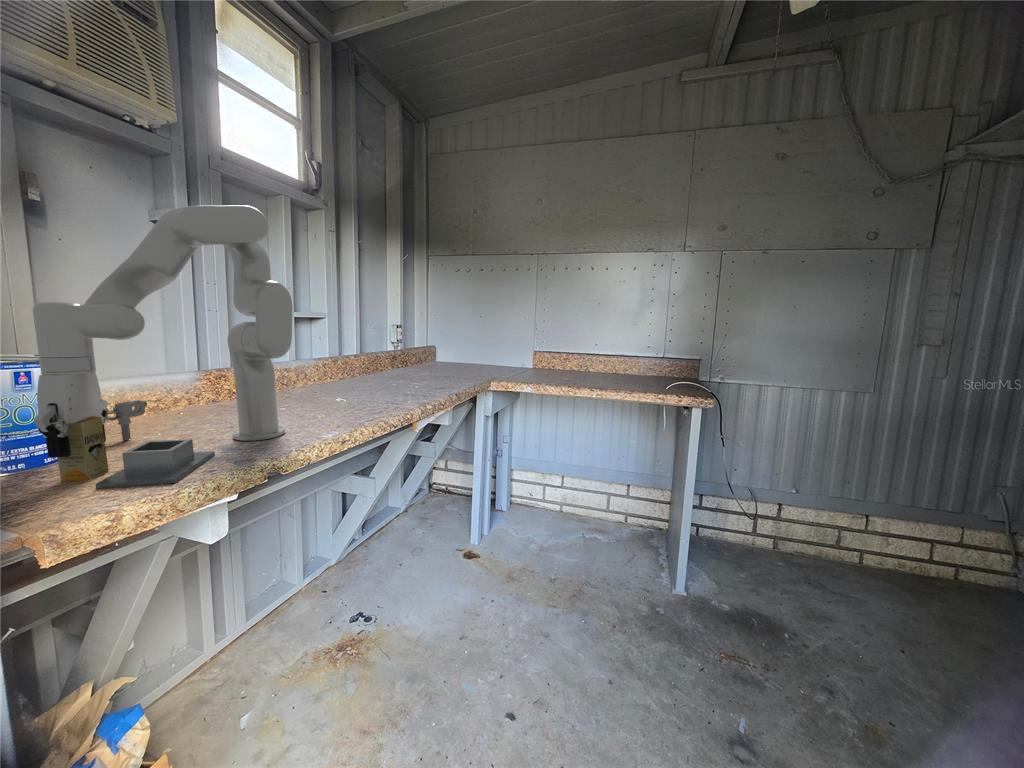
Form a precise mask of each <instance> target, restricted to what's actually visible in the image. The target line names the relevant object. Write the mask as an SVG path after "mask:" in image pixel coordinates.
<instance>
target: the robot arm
mask: <svg viewBox="0 0 1024 768" xmlns="http://www.w3.org/2000/svg"><path fill="white" fill-rule="evenodd" d="M269 230H270V229H269V222H268V219H267V218H266V216H265V214H264V213H262V212H261V211H260V210H259V209H258V208H256V207H253V206H251V205H246V204H245V205H242V204H241V205H186V206H183V207H182V206H181V207H178V208H173V209H170V210H167V211H166V212H164V213H163V214H162V215H161V216H160V217H159V218H158V220H156V222H155V224H154V225H153V226H152V228H151V229H150V230H149V231H148V233H147V234H146V235H145V237H144V238H143V239H142V241H141V242H140V243H139V244H138V245H137V247H136V248H135V250H133V252H132V253H131V254H130V255H129V257H127V258H126V259H125V260H124V261H123V262H121V264H120V265H118V267H117V268H115V270H114V271H112V272H111V273H110V274H109V275H108V276H107V277H106V278H104V280H102V282H101V283H100V284H99V285H98V286H97V287H96V288H95V290H94V291H93V292H92V293H91V294H90V296H89V297H88V299H86V301H85V302H84V304H82V303H78V302H65V301H64V302H62V301H60V302H58V301H41V302H38V303H35V304H34V305H33V307H32V316H33V323H34V329H35V339H36V345H37V352H38V353H37V354H38V361H39V368H40V374H39V375H38V381H37V389H36V390H37V393H36V395H37V400H36V401H37V413H38V414H37V415H36V416H35V417H34V418H33V423H34V424H35V426H36V427H37V430H38V432H39V433H40V434H42V438H44V439H45V441H46V443H45V444H46V449H47V455H48V457H49V458H51V459H52V458H57V457H68V456H70V455H71V451H70V443H69V436H65V434H66V432H67V430H68V428H69V426H70V425H72V424H76V423H78V422H81V421H84V420H88V419H91V418H94V417H101V419H102V426H103V433H104V441H105V443H106V441H107V437H106V428H105V424H106V421H107V420H105V416H106V414H107V412H106V408H107V409H108V401H107V400H105V399H102V392H101V388H100V384H99V378H98V377H97V373H96V372H97V370H96V361H95V359H96V358H95V352H94V343H93V339H108V340H116V341H122V340H123V341H124V340H130V339H133V338H135V337H137V336H139V335H140V334H141V333H142V332H143V330H144V328H145V325H146V323H145V318H144V316H143V314H142V313H140V311H139V310H137V309H136V308H137V306H138V305H140V303H142V301H144V300H145V299H146V298H147V297H148V296H150V295H152V294H153V293H155V292H157V291H159V290H162V289H163V288H165V287H166V286H169V285H170V284H171V283H172V282H174V281H175V280H176V279H177V278H178V276H179V274H180V273H181V272H182V270H183V269H184V267H185V266H186V265H187V264H188V262H189V261H190V259H192V256H193V255H194V254H195V252H196V251H197V249H199V247H202V246H210V245H212V246H214V245H222V246H223V247H224V248H225V249H226V250H227V252H228V254H229V255H230V257H231V259H232V260H231V261H232V265H233V266H232V267H233V289H232V290H233V294H232V295H233V296H232V297H233V298H232V299H233V300H232V301H233V305H234V308H235V309H236V311H238V312H239V314H241V315H244V316H247V317H252V318H253V317H254V318H255V321H244V322H243V321H242V322H240V323H237V324H235V325H233V326H232V327H231V329H230V330H229V332H228V335H227V339H226V340H227V347H228V350H229V353H230V354H229V355H230V357H231V361H232V367H233V375H234V387H235V388H234V389H235V398H236V399H235V400H236V411H237V418H238V419H237V420H238V430H235V431H234V432H233V433H232V438H233V439H234V440H236V441H241V442H242V441H243V442H245V441H247V442H250V441H251V442H254V441H262V440H263V441H264V440H269V439H274V438H276V437H277V438H278V437H280V436H282V435H283V434H285V433H286V429H285V427H283V426H282V425H281V426H280V425H279V419H278V418H279V417H278V415H279V414H278V403H277V389H276V373H275V368H274V364H273V361H272V359H274V360H275V359H279V358H282V357H284V356H285V355H286V354H287V353H288V351H290V348H291V345H292V342H293V341H292V340H293V300H292V296H291V294H290V292H289V290H288V288H287V287H286V286H284V285H283V284H282V283H281V282H278V281H274V280H272V277H271V276H272V275H271V273H272V272H271V261H270V257H269V255H268V254H267V251H266V250H265V248H264V247H263V245H262V244H261V243H260V241H262V240H264V239H265V238H266V236H267V235H268V233H269ZM55 426H60V428H59V430H58V429H57V428H55Z"/></svg>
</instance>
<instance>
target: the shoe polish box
mask: <svg viewBox="0 0 1024 768" xmlns="http://www.w3.org/2000/svg"><path fill="white" fill-rule="evenodd" d="M55 428H57V429H58V430H59V428H60V426H55ZM65 436H69V443H70V451H71V455H70V456H68V457H56V458H57V464H58V468H59V469H58V470H59V475H60V477H59V478H60V482H61V483H63V482H84V481H85V480H90V481H92V480H94V479H96V478H99V477H100V475H101V476H103V475H105V474H107V473H109V472H110V470H109V462H108V458H107V456H108V455H107V450H106V442H105V441H104V433H103V426H102V419H101V417H94V418H91V419H88V420H84V421H81V422H78V423H76V424H72V425H70V426H69V428H68V430H67V432H66V434H65ZM102 474H103V475H102ZM91 479H92V480H91ZM83 480H84V481H83Z"/></svg>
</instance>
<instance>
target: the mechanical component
mask: <svg viewBox="0 0 1024 768" xmlns="http://www.w3.org/2000/svg"><path fill="white" fill-rule="evenodd" d="M113 405H114V407H113V408H112V410H109V409H108V407H107V408H106V412H107V414H106V416H105V420H106V421H110V422H111V421H118V423H117V425H119V426H120V427H121V428H120V430H121V437H122V441H123V440H124V441H125V440H129V439H131V440H132V437H131V431H130V424H132V421H131V418H133V417H141V416H143V415H144V414H145V412H146V407H147V406H148V402H147V401H146V400H139V399H138V400H131V401H124V402H117V403H114V404H113ZM133 407H134V408H133ZM112 414H115V416H111V417H109V416H108V415H112ZM129 441H130V440H129Z"/></svg>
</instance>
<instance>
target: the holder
mask: <svg viewBox="0 0 1024 768" xmlns="http://www.w3.org/2000/svg"><path fill="white" fill-rule="evenodd" d="M121 454H122V462H123V469H121V470H119V471H118V472H116V473H115V472H114V473H113V474H112V475H110V476H107V477H106V478H104V479H102V480H100V481H99V482H96V483H95V484H94V485H95V489H96V490H101V489H102V488H105V489H115V488H114V487H120V488H129V487H128V486H135V487H146V486H147V485H149V486H159V485H158V484H164V485H171V484H170V483H175V484H177V483H178V482H179V481H181V480H182V479H184V478H185V477H187V476H188V475H189V474H190V472H191V473H192V472H194V471H196V470H197V468H199V467H200V466H202V465H204V464H205V463H206V462H208V461H209V460H210V459H211V457H212V458H213V457H215V455H216V454H215V451H214V450H213V451H211V450H210V451H194V443H193V439H192V438H188V439H187V438H186V439H164V440H163V439H162V440H161V439H160V440H146V441H145V442H142V443H141V444H139V445H136V446H134V447H132V448H130V449H128V450H126V451H123V452H122V453H121ZM208 459H209V460H208ZM204 462H205V463H204ZM187 474H188V475H187ZM184 476H185V477H184ZM183 477H184V478H183ZM181 478H182V479H181ZM180 479H181V480H180ZM178 480H179V481H178ZM177 481H178V482H177ZM176 482H177V483H176ZM126 486H127V487H126ZM147 487H148V486H147ZM102 490H103V489H102Z"/></svg>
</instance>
